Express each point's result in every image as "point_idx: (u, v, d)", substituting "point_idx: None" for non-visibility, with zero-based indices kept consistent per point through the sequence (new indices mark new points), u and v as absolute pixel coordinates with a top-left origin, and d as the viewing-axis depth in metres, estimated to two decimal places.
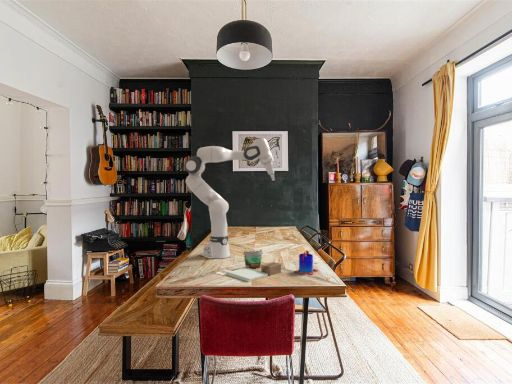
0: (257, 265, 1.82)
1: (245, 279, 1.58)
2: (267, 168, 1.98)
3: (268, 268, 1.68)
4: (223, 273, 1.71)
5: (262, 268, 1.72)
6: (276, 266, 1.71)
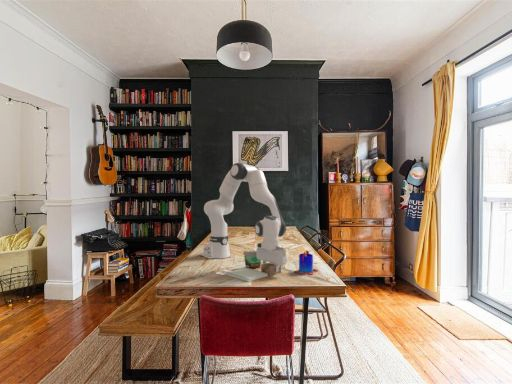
0: (257, 265, 1.82)
1: (245, 279, 1.58)
2: None
3: (268, 268, 1.68)
4: (223, 273, 1.71)
5: (262, 268, 1.72)
6: None
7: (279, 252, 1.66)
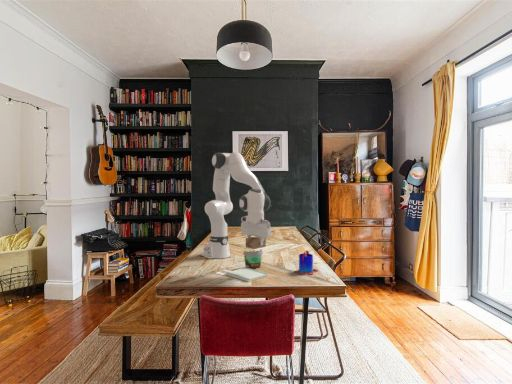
0: (257, 265, 1.82)
1: (245, 279, 1.58)
2: None
3: (252, 241, 1.65)
4: (223, 273, 1.71)
5: (246, 241, 1.68)
6: None
7: (263, 225, 1.63)
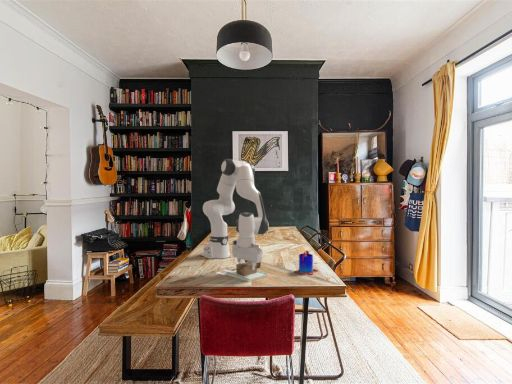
0: (257, 265, 1.82)
1: (245, 279, 1.58)
2: None
3: (243, 268, 1.63)
4: (223, 273, 1.71)
5: (237, 268, 1.67)
6: None
7: (254, 249, 1.61)
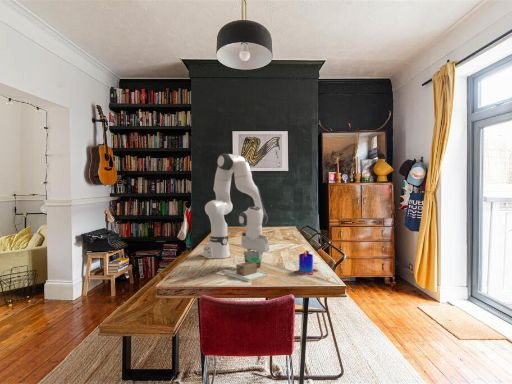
0: (257, 265, 1.82)
1: (245, 279, 1.58)
2: None
3: (243, 268, 1.63)
4: (223, 273, 1.71)
5: (237, 268, 1.67)
6: (251, 266, 1.66)
7: (262, 240, 1.77)
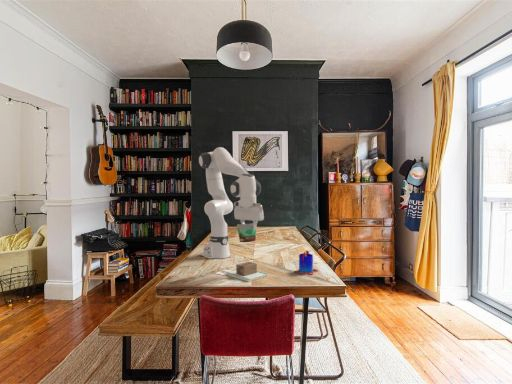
0: (252, 238, 1.70)
1: (245, 279, 1.58)
2: None
3: (243, 268, 1.63)
4: (223, 273, 1.71)
5: (237, 268, 1.67)
6: (251, 266, 1.66)
7: (256, 208, 1.64)
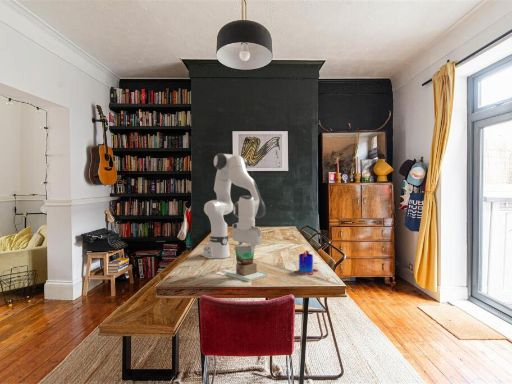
0: (250, 261, 1.67)
1: (245, 279, 1.58)
2: None
3: (242, 268, 1.63)
4: (223, 273, 1.71)
5: (236, 268, 1.67)
6: (251, 266, 1.66)
7: (254, 232, 1.61)
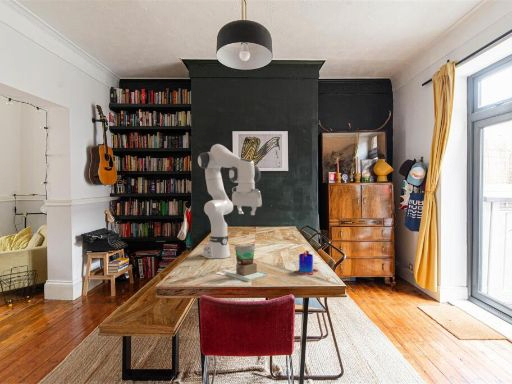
0: (250, 261, 1.67)
1: (245, 279, 1.58)
2: None
3: (243, 268, 1.63)
4: (223, 273, 1.71)
5: (237, 268, 1.67)
6: (251, 266, 1.66)
7: (254, 194, 1.60)
